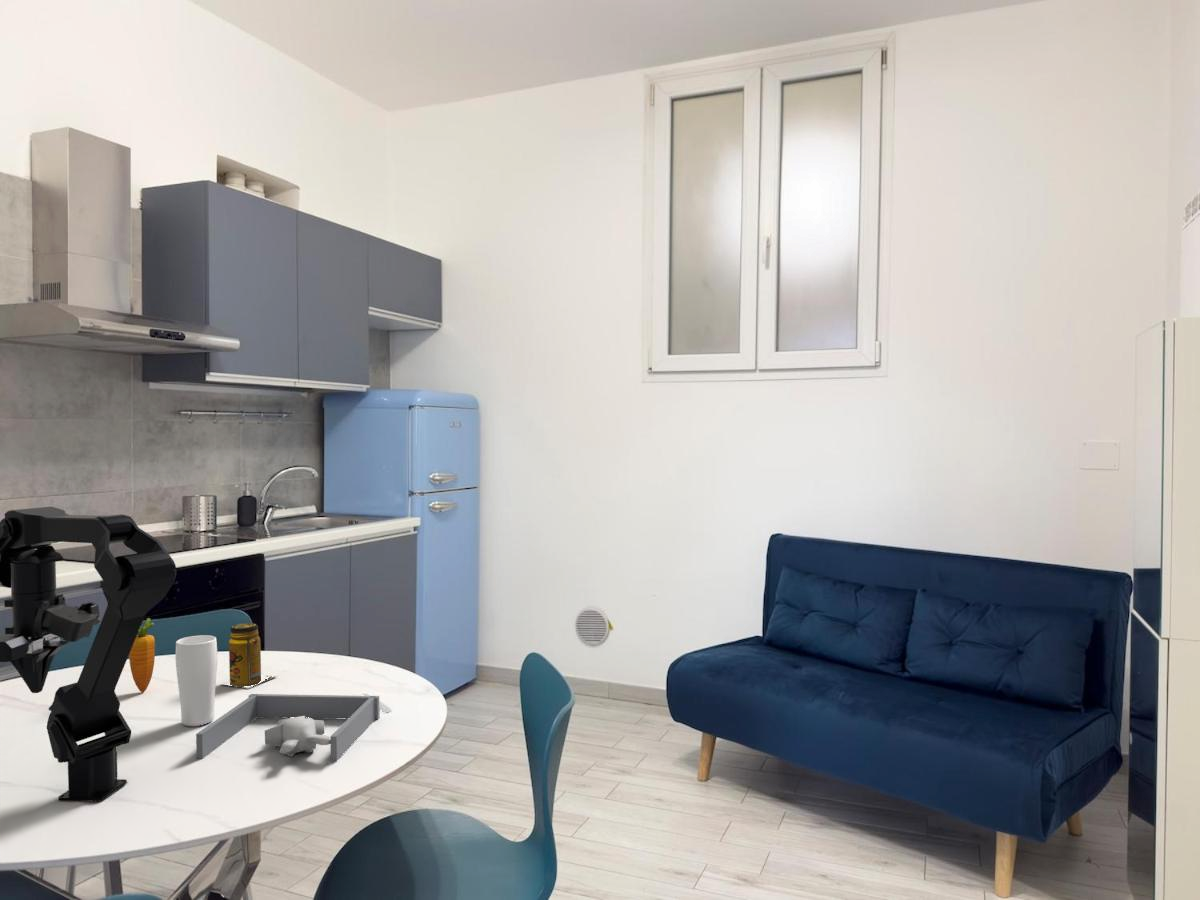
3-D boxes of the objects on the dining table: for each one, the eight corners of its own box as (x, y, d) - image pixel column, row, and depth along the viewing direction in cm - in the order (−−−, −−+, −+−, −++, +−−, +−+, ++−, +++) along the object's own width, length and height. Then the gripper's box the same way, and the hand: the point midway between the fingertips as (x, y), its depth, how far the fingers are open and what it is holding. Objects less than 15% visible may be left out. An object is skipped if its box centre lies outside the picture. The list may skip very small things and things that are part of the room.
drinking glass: (202, 730, 150) (200, 645, 150) (168, 727, 152) (166, 643, 151) (226, 717, 157) (225, 635, 157) (193, 714, 158) (192, 634, 158)
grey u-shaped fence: (340, 761, 137) (339, 736, 136) (193, 758, 138) (193, 733, 138) (379, 717, 157) (379, 696, 156) (251, 715, 158) (251, 693, 158)
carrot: (150, 686, 175) (148, 613, 175) (161, 691, 172) (159, 617, 171) (124, 692, 171) (122, 618, 171) (135, 698, 168) (133, 622, 168)
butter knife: (378, 713, 158) (393, 709, 160) (334, 678, 181) (348, 675, 182) (378, 716, 158) (394, 712, 160) (334, 681, 181) (348, 678, 182)
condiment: (220, 686, 176) (218, 627, 175) (250, 674, 184) (248, 618, 183) (248, 689, 173) (247, 630, 173) (277, 677, 181) (276, 621, 181)
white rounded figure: (317, 707, 150) (336, 724, 137) (318, 737, 150) (338, 756, 137) (260, 717, 146) (274, 735, 133) (261, 748, 145) (275, 768, 132)
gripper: (41, 604, 120) (44, 714, 121) (123, 579, 139) (125, 674, 140) (-35, 603, 121) (-31, 713, 122) (56, 579, 140) (59, 673, 140)
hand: (36, 692), depth 131 cm, fingers closed
